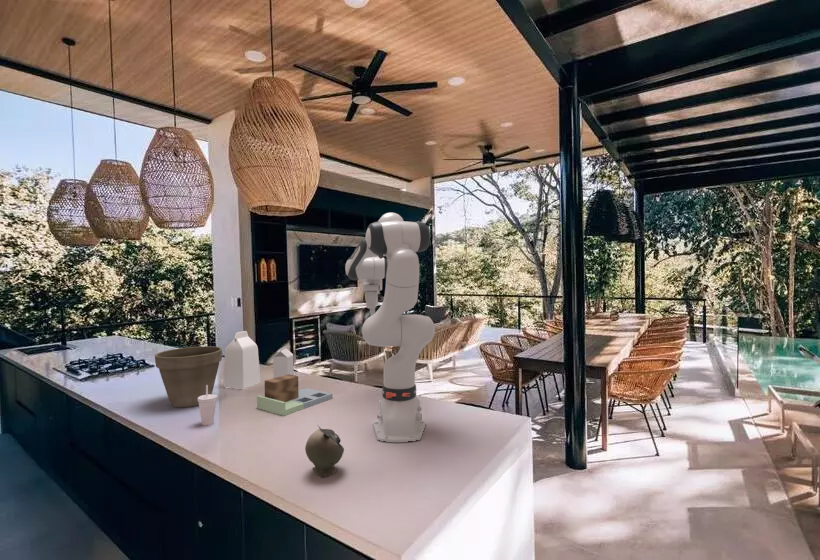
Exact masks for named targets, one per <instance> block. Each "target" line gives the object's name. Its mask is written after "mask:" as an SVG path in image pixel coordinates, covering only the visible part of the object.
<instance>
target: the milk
mask: <svg viewBox="0 0 820 560" xmlns="http://www.w3.org/2000/svg"><path fill="white" fill-rule="evenodd" d="M259 358H260V357H259V348H258V345H257V343H256V342H255V341H254V340H253V339H252V338H251V337H250V336H249V334H248V331H247V330H243V331H238V332H235V335H234V338H233V339H232V340H231V342H230V343H228V344H227V345H226V347H225V348H224V358H223V359H224V361H223V362H224V363H223V364H224V365H223V366H224V367H223V387H230V388H239V389H245V388H247V387H250V386H252V387H254V386H253V385H255V384H258V383H260V384H261V374H260V373H261V371H260V360H259ZM258 385H259V384H258ZM255 386H256V385H255ZM250 388H251V387H250ZM247 389H248V388H247ZM245 390H246V389H245Z"/></svg>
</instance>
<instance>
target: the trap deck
mask: <svg viewBox="0 0 820 560" xmlns="http://www.w3.org/2000/svg"><path fill="white" fill-rule="evenodd" d="M298 395H299V398H296V399H293V400H290V401H287V402H283V401H279V400H275V399H271V398H267V397H265V396H263V395H256V409H257V408H258V410H261V409H262V410H261V411H264V410H265V412H268V413H271V414H274V415H275V414H276V415H277V416H278V415H279V416H283V417H284V416H287V415H290V414H293V413H296V412H299V411H301V410H303V409H307V408H309V407H313V406H315V405H317V404H320V402H321V403H324V402H326V401H328V400H331V399H332V400H333V393H331V392H326V391H322V390H316V389H312V388H309V387H305V388H302V389H300V390H299V389H298Z"/></svg>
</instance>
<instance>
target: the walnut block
mask: <svg viewBox="0 0 820 560" xmlns="http://www.w3.org/2000/svg"><path fill="white" fill-rule="evenodd" d="M298 391H299V376H298V375H295V374H294V375H290V374H288V375H284V376H280V377H277V378H273V377H272V378H269V379H265V380H264V397H267V398H271V399H275V400H279V401H283V402H287V401H290V400H293V399H296V398H299V395H298Z"/></svg>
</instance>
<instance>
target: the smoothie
mask: <svg viewBox="0 0 820 560" xmlns="http://www.w3.org/2000/svg"><path fill="white" fill-rule="evenodd" d="M217 399H218V395H217V394H214V393H212V394H208V385H206V395H202V396H200V397H198V400H197V401H198V402H199V405H198V408H199V413H200V414H199V415H200V421H201V425H202V426H210V425H214V421H215V412H216V403H217Z"/></svg>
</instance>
